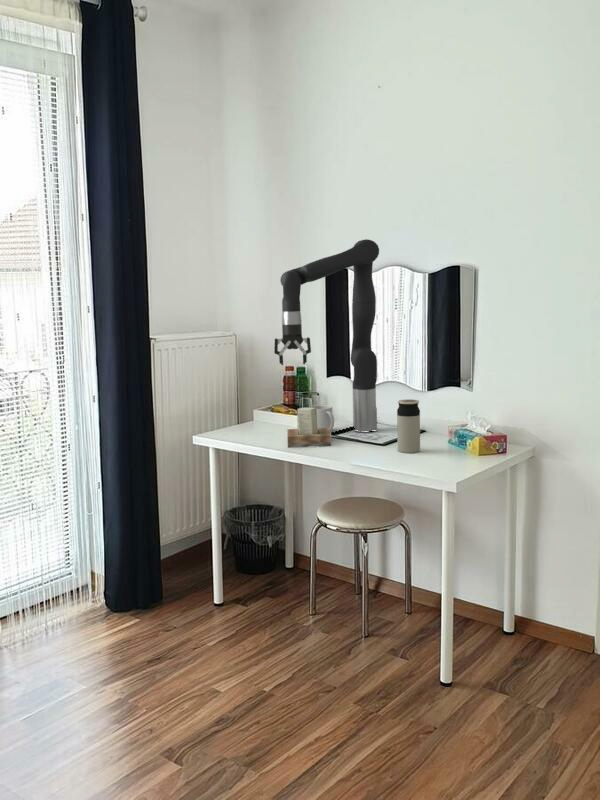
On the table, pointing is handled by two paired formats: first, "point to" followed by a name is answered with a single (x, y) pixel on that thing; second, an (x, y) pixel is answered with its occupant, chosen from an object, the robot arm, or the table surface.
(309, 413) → the skincare box
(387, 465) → the table surface
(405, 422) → the travel mug
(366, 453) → the table surface
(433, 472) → the table surface
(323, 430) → the socket board
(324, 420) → the mug
